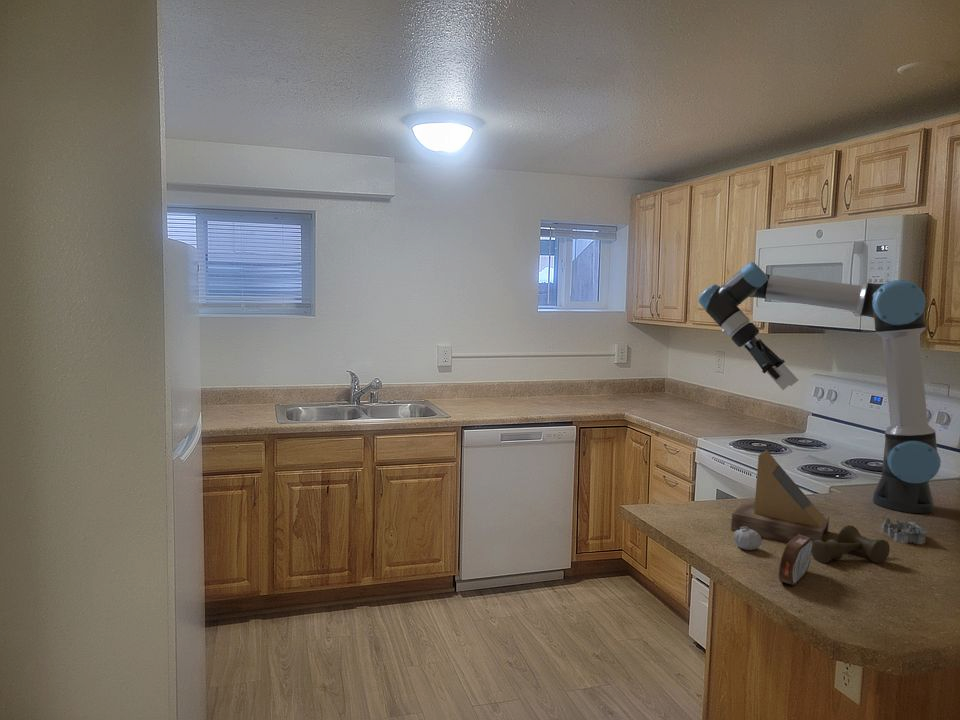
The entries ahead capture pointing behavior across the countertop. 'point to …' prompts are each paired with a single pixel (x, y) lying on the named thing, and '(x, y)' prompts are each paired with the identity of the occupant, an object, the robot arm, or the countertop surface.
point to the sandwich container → (782, 495)
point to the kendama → (850, 546)
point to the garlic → (747, 538)
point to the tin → (795, 559)
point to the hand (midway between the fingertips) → (791, 385)
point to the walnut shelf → (774, 524)
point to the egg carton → (904, 531)
